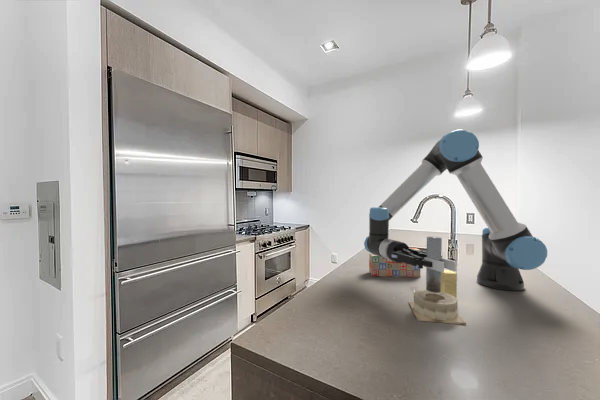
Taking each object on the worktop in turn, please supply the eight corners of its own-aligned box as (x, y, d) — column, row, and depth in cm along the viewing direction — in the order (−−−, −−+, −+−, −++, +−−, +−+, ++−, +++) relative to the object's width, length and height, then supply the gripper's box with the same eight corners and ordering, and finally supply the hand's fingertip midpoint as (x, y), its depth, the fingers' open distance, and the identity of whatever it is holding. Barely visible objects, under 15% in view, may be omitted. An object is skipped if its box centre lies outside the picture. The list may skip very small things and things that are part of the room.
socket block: (449, 306, 83) (449, 291, 83) (466, 324, 71) (466, 306, 71) (408, 303, 86) (408, 288, 86) (417, 320, 74) (417, 302, 74)
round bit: (438, 288, 80) (439, 236, 80) (442, 293, 76) (443, 238, 76) (424, 287, 81) (425, 236, 81) (428, 292, 77) (428, 238, 77)
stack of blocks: (371, 276, 116) (372, 249, 116) (368, 272, 122) (369, 246, 122) (420, 277, 115) (420, 249, 115) (415, 273, 121) (415, 247, 121)
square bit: (448, 298, 90) (449, 269, 90) (456, 303, 86) (456, 273, 86) (437, 298, 90) (437, 270, 90) (444, 303, 86) (445, 273, 86)
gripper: (413, 259, 98) (471, 277, 76) (374, 262, 93) (425, 282, 71) (413, 239, 98) (471, 251, 76) (374, 241, 93) (425, 255, 71)
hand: (449, 266), depth 73 cm, fingers closed on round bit, 4 cm apart
